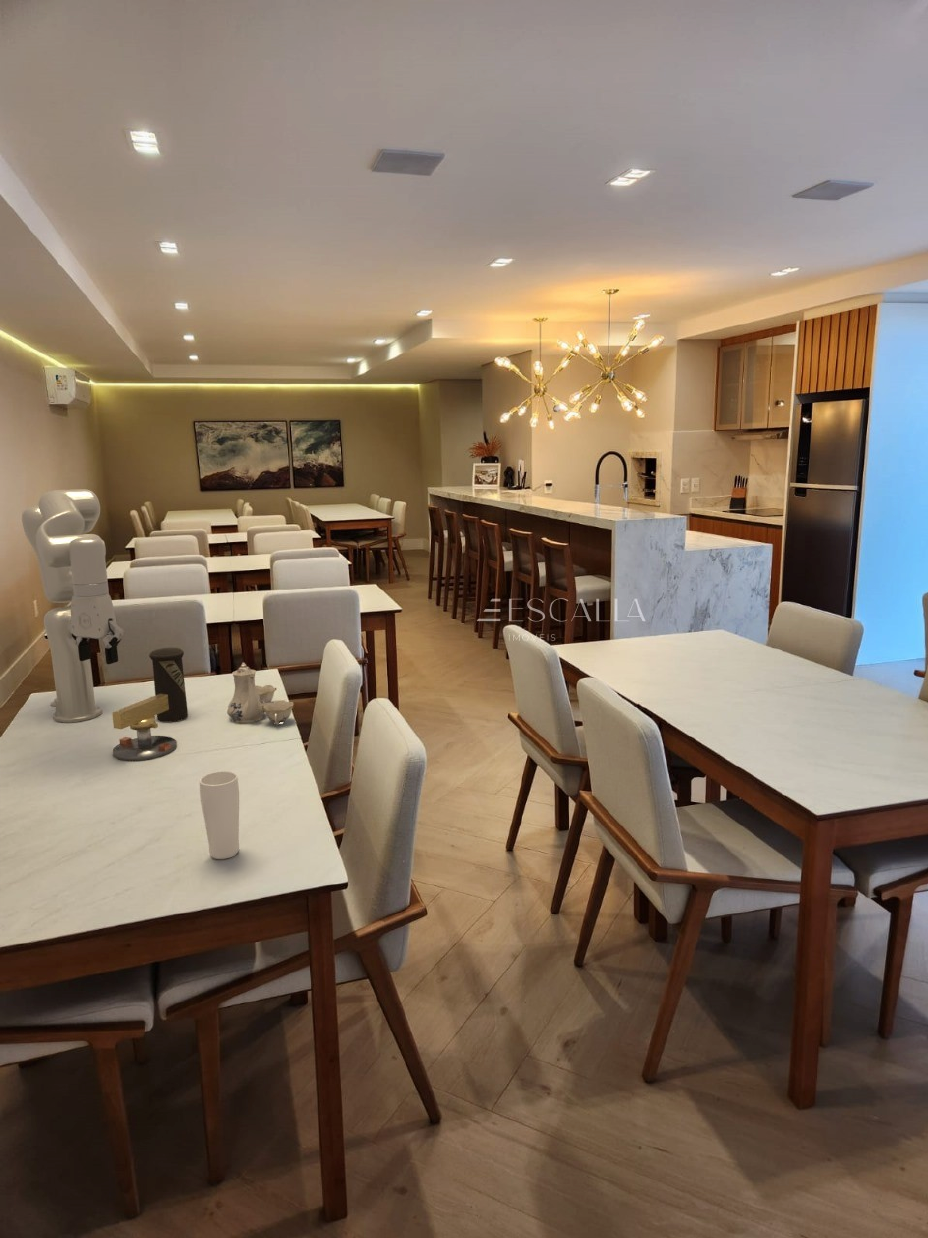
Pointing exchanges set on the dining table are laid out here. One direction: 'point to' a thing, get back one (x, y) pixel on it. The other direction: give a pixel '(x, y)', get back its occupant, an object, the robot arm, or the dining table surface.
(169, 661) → the container
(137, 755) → the post base
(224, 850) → the drinking glass
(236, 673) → the chinaware
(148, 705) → the gold bar handle
